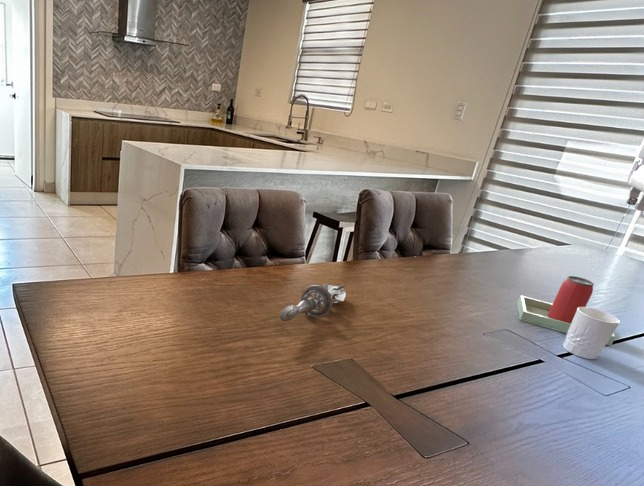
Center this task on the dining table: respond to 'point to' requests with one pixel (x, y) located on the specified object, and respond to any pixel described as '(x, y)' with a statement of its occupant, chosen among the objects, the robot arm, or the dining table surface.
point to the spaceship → (315, 301)
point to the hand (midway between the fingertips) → (634, 207)
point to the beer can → (571, 298)
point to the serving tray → (543, 315)
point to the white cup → (589, 332)
